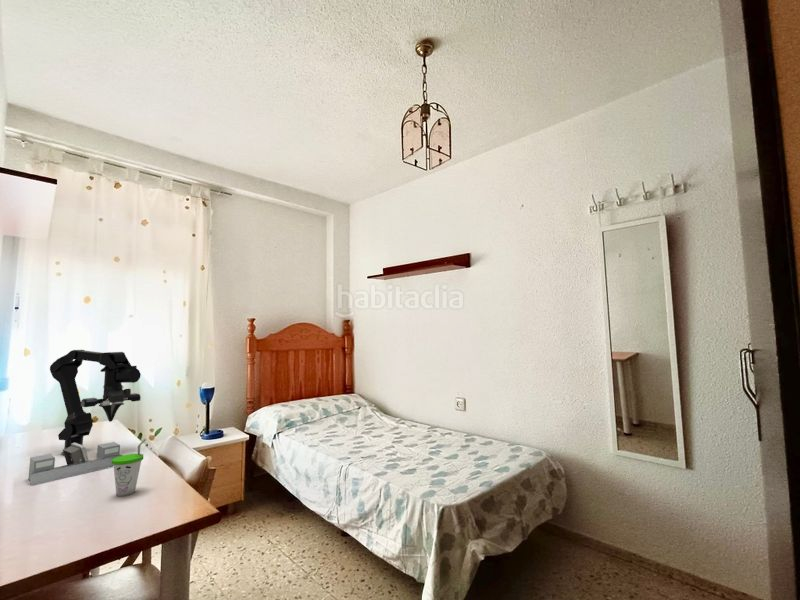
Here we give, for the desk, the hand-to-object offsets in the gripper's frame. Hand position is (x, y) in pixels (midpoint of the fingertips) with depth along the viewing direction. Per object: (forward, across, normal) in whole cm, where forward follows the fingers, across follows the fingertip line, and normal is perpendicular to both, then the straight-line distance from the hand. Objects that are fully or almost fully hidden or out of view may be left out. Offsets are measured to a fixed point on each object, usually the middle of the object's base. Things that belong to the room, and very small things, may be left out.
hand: (110, 421), depth 151 cm
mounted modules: (+13, -13, -15) cm, 24 cm away
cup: (+13, -9, -53) cm, 55 cm away
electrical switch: (+13, -13, -14) cm, 23 cm away
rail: (+13, -13, -20) cm, 27 cm away
